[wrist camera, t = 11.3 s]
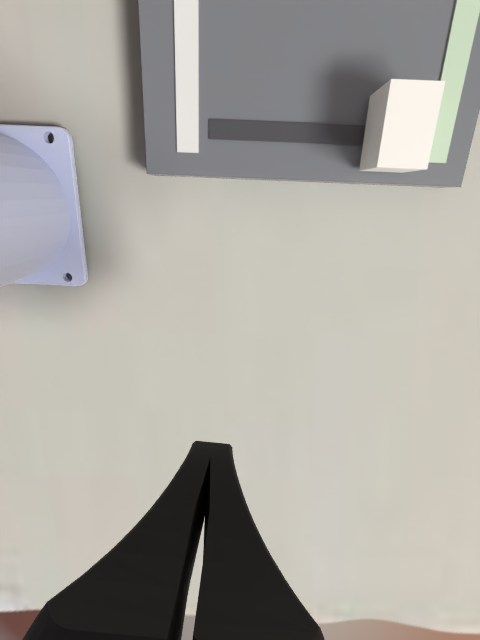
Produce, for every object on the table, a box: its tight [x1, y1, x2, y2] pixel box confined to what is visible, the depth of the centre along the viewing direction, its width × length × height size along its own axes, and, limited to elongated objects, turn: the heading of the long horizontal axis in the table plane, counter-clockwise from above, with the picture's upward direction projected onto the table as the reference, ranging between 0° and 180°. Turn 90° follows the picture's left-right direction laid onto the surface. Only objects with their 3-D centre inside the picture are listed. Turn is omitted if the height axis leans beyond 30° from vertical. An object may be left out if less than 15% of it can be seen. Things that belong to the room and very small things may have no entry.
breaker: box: [359, 79, 445, 173], centre depth 14 cm, size 2×3×2 cm, turn 177°
